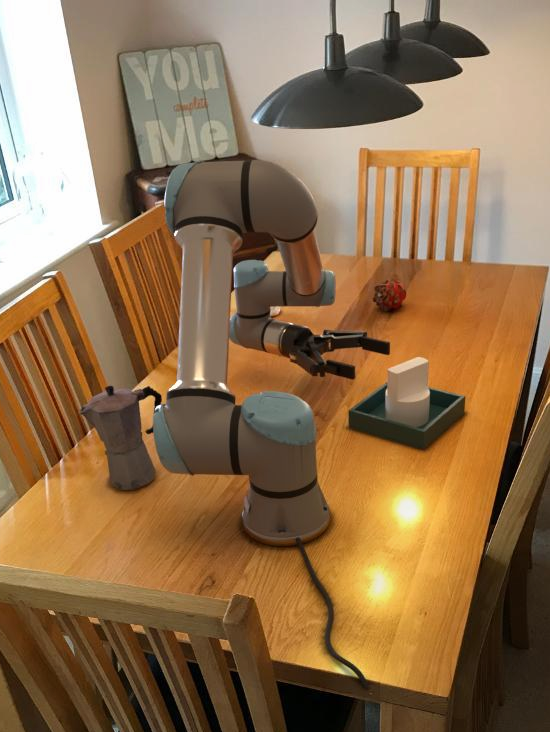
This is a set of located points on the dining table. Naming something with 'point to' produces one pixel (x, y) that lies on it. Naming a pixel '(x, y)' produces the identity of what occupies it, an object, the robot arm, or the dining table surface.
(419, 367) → the cylinder with rectangular tab
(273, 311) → the white rounded lump
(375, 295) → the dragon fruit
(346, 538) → the dining table surface
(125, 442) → the moka pot
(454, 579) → the dining table surface
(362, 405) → the bin
